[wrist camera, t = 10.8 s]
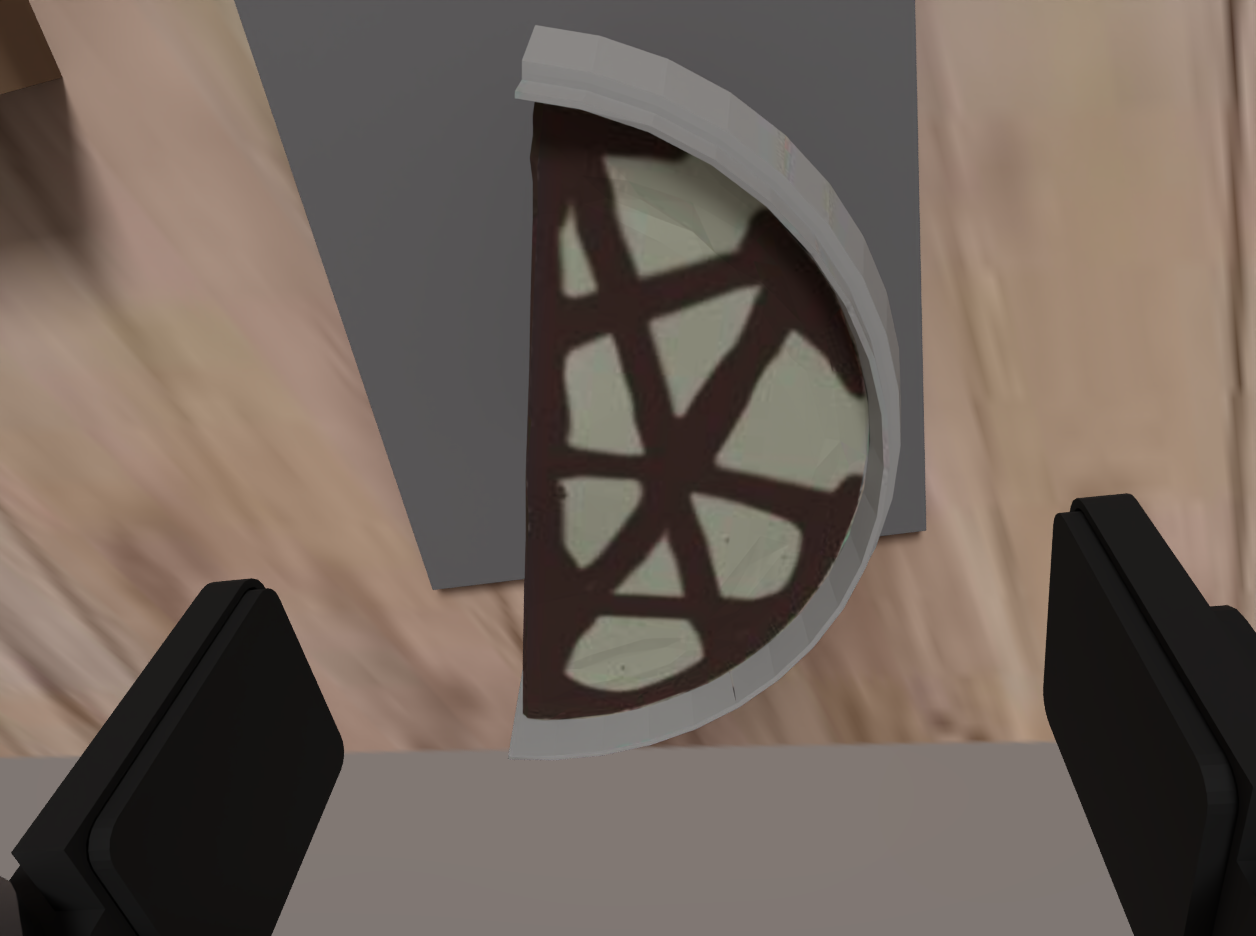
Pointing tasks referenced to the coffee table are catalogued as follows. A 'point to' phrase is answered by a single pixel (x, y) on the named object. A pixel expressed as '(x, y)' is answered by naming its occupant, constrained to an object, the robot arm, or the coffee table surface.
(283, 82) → the mat
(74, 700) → the coffee table surface
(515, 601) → the coffee table surface
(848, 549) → the food container
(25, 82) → the walnut block
